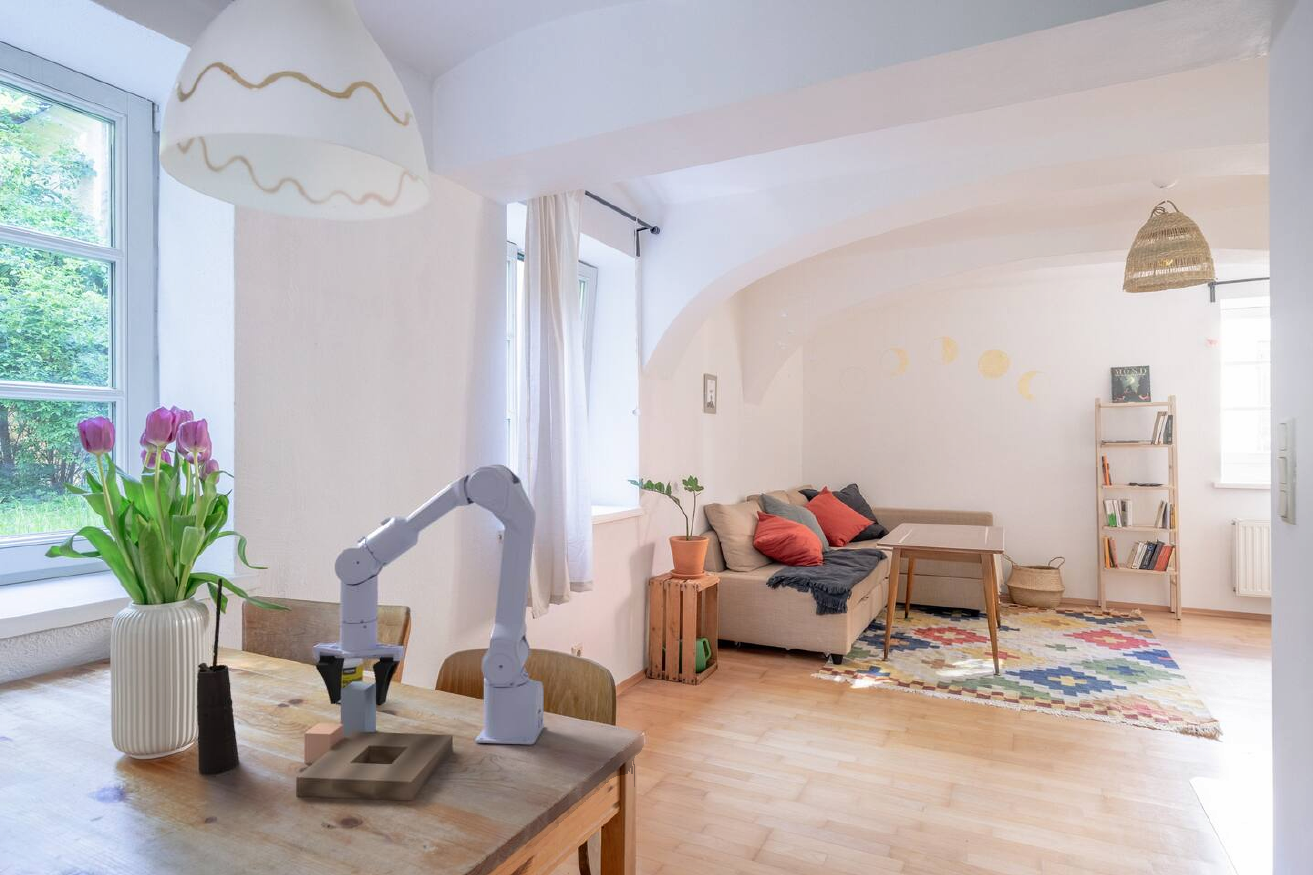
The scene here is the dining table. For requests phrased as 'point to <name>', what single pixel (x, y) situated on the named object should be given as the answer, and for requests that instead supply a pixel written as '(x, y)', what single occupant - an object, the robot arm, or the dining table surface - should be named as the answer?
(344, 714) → the tall pin
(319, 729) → the short pin
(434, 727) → the dining table surface
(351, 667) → the supplement bottle
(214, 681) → the butter churn
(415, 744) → the hole board
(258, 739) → the dining table surface
